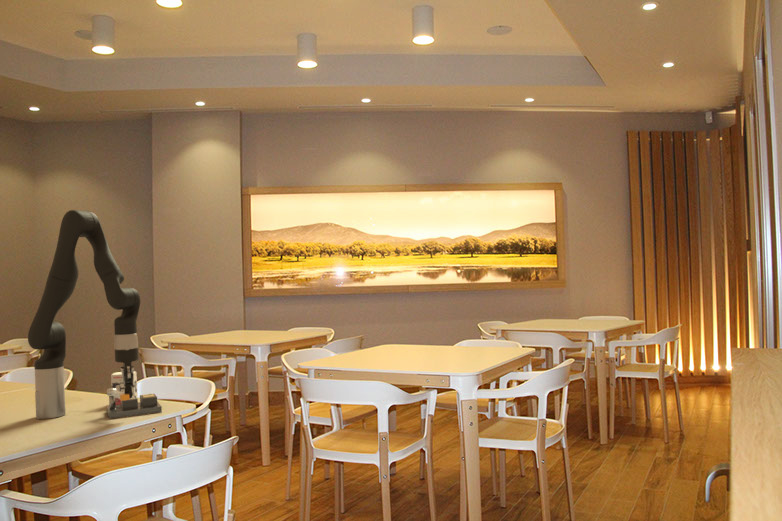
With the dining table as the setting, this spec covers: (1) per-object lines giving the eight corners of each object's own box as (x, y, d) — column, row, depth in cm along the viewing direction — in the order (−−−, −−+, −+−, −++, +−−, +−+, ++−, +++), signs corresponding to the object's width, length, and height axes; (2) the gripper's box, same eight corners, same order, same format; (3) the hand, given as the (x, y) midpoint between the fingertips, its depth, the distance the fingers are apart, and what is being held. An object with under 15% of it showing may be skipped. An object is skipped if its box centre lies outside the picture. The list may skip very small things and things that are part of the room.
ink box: (111, 405, 253) (110, 374, 253) (115, 403, 257) (113, 372, 258) (135, 404, 254) (133, 372, 254) (138, 401, 259) (136, 371, 259)
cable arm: (106, 394, 236) (105, 389, 236) (115, 393, 238) (115, 387, 238) (120, 401, 222) (120, 395, 222) (130, 399, 224) (130, 393, 224)
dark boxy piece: (109, 418, 228) (108, 399, 228) (107, 411, 241) (106, 393, 241) (161, 412, 236) (160, 393, 236) (156, 405, 248) (155, 387, 248)
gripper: (113, 346, 231) (115, 396, 231) (116, 350, 220) (118, 403, 220) (136, 344, 235) (138, 393, 235) (140, 348, 223) (142, 400, 223)
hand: (128, 398), depth 227 cm, fingers closed
